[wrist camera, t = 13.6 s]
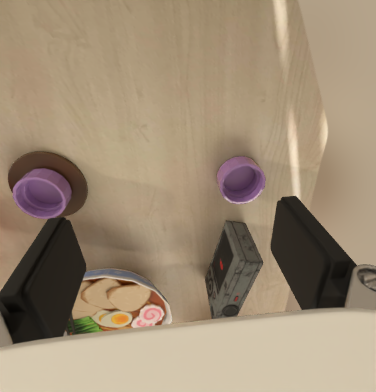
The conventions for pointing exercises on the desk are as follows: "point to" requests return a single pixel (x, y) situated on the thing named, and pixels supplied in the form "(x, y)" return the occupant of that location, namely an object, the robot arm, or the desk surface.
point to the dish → (240, 180)
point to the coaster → (58, 165)
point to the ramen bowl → (116, 303)
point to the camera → (232, 270)
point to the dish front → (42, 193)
